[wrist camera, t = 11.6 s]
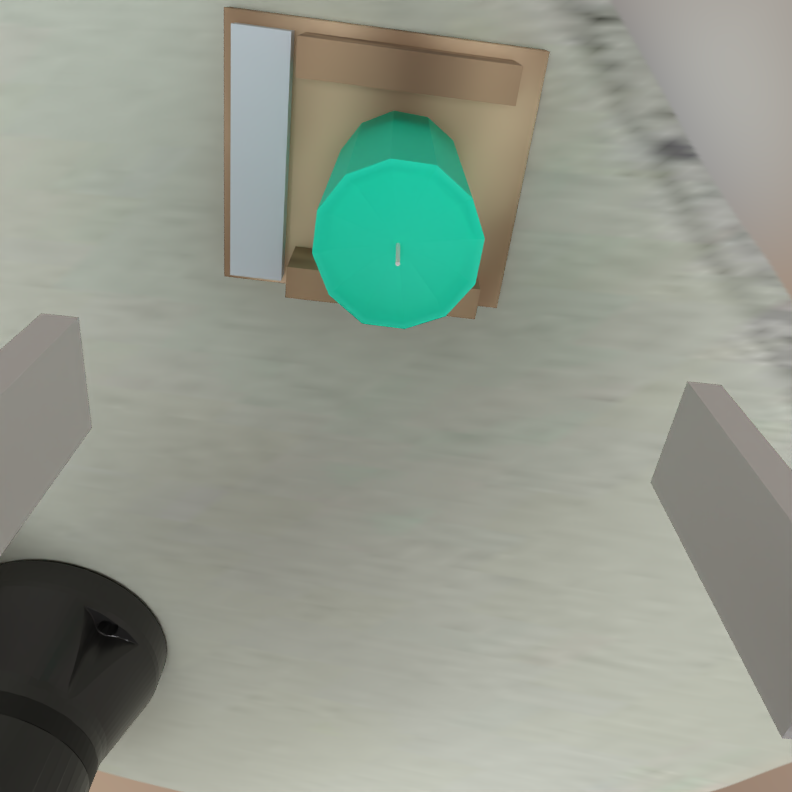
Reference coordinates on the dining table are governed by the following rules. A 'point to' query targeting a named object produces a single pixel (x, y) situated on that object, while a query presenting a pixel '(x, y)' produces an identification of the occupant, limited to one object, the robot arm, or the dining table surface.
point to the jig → (405, 92)
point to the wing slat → (259, 148)
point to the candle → (398, 224)
